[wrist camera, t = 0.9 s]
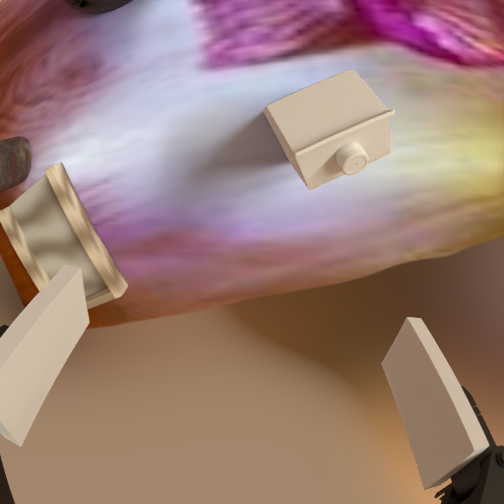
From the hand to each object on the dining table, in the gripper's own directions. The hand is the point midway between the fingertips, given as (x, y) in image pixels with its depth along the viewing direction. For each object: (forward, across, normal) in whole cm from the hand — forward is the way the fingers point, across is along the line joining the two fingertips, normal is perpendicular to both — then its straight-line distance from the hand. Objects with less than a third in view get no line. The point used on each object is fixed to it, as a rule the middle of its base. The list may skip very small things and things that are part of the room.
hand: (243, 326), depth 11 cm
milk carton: (+29, +5, +7) cm, 30 cm away
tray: (+28, -28, -15) cm, 42 cm away
